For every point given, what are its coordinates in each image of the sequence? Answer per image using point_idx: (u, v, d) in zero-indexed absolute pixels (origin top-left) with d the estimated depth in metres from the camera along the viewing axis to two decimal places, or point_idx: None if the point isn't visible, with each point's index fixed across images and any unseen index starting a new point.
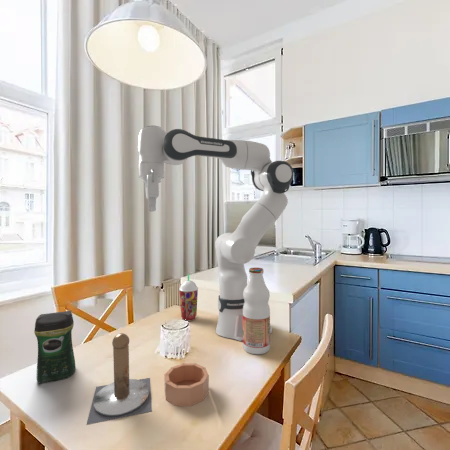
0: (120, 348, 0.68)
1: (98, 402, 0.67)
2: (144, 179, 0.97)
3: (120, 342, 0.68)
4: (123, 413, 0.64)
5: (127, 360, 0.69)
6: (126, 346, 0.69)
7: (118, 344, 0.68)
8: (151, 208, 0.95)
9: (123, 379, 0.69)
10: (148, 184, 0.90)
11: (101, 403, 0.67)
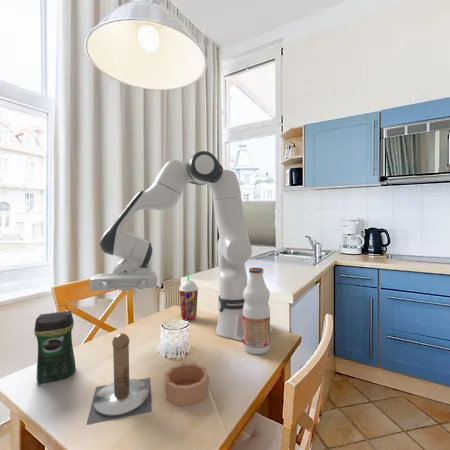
0: (120, 348, 0.68)
1: (98, 402, 0.67)
2: None
3: (120, 342, 0.68)
4: (123, 413, 0.64)
5: (127, 360, 0.69)
6: (126, 346, 0.69)
7: (118, 344, 0.68)
8: (104, 289, 0.82)
9: (123, 379, 0.69)
10: None
11: (101, 403, 0.67)
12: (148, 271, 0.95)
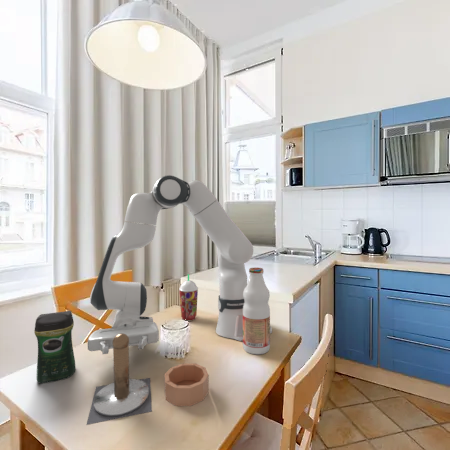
0: (120, 348, 0.68)
1: (98, 402, 0.67)
2: None
3: (120, 342, 0.68)
4: (123, 413, 0.64)
5: (127, 360, 0.69)
6: (126, 346, 0.69)
7: (118, 344, 0.68)
8: None
9: (123, 379, 0.69)
10: None
11: (101, 403, 0.67)
12: (149, 323, 0.90)
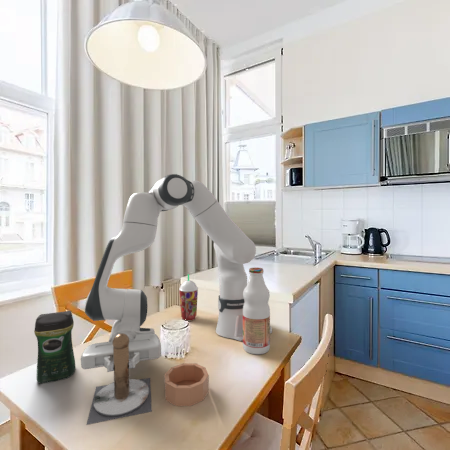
0: (120, 348, 0.68)
1: (98, 402, 0.67)
2: None
3: (120, 342, 0.68)
4: (123, 413, 0.64)
5: (127, 360, 0.69)
6: (126, 346, 0.69)
7: (118, 344, 0.68)
8: None
9: (123, 379, 0.69)
10: None
11: (101, 403, 0.67)
12: (150, 335, 0.81)
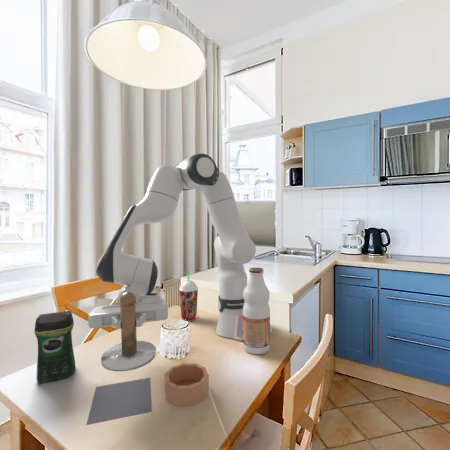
0: (128, 305, 0.68)
1: (106, 359, 0.67)
2: None
3: (127, 299, 0.68)
4: (131, 368, 0.64)
5: (134, 318, 0.69)
6: (133, 304, 0.69)
7: (125, 301, 0.68)
8: None
9: (131, 336, 0.69)
10: None
11: (109, 359, 0.67)
12: (157, 299, 0.81)
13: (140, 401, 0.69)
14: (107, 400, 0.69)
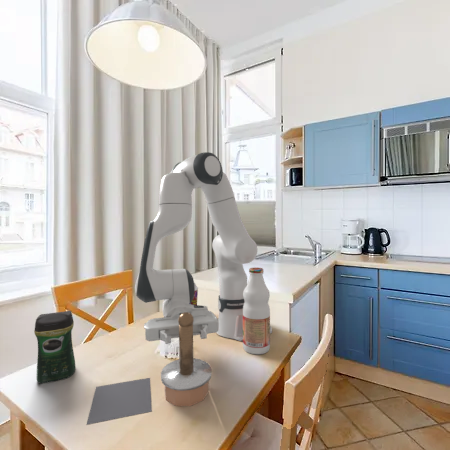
0: (187, 325, 0.70)
1: (166, 377, 0.70)
2: None
3: (186, 319, 0.70)
4: (193, 387, 0.67)
5: (192, 338, 0.72)
6: (191, 324, 0.71)
7: (185, 322, 0.70)
8: (165, 341, 0.71)
9: (189, 355, 0.71)
10: None
11: (169, 378, 0.69)
12: (205, 312, 0.84)
13: (140, 401, 0.69)
14: (107, 400, 0.69)
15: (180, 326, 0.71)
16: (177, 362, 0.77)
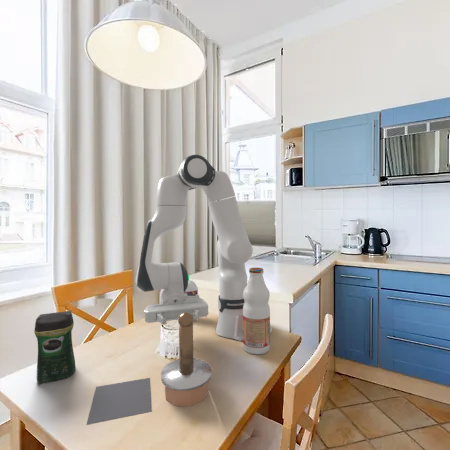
0: (187, 325, 0.70)
1: (166, 377, 0.70)
2: None
3: (186, 319, 0.70)
4: (193, 387, 0.67)
5: (192, 338, 0.72)
6: (191, 324, 0.71)
7: (185, 322, 0.70)
8: (161, 322, 0.83)
9: (189, 355, 0.71)
10: None
11: (169, 378, 0.69)
12: (197, 299, 0.96)
13: (140, 401, 0.69)
14: (107, 400, 0.69)
15: (180, 326, 0.71)
16: (177, 362, 0.77)
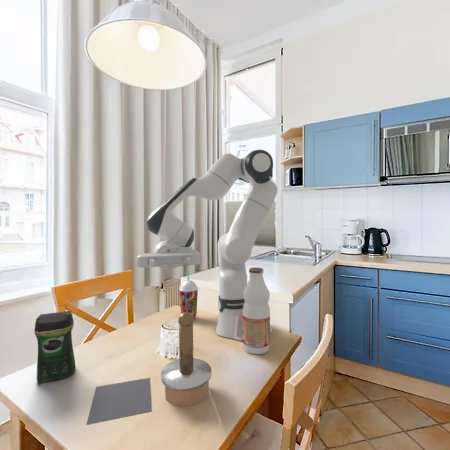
0: (187, 325, 0.70)
1: (166, 377, 0.70)
2: None
3: (186, 319, 0.70)
4: (193, 387, 0.67)
5: (192, 338, 0.72)
6: (191, 324, 0.71)
7: (185, 322, 0.70)
8: (152, 265, 0.84)
9: (189, 355, 0.71)
10: None
11: (169, 378, 0.69)
12: (190, 250, 0.97)
13: (140, 401, 0.69)
14: (107, 400, 0.69)
15: (180, 326, 0.71)
16: (177, 362, 0.77)
